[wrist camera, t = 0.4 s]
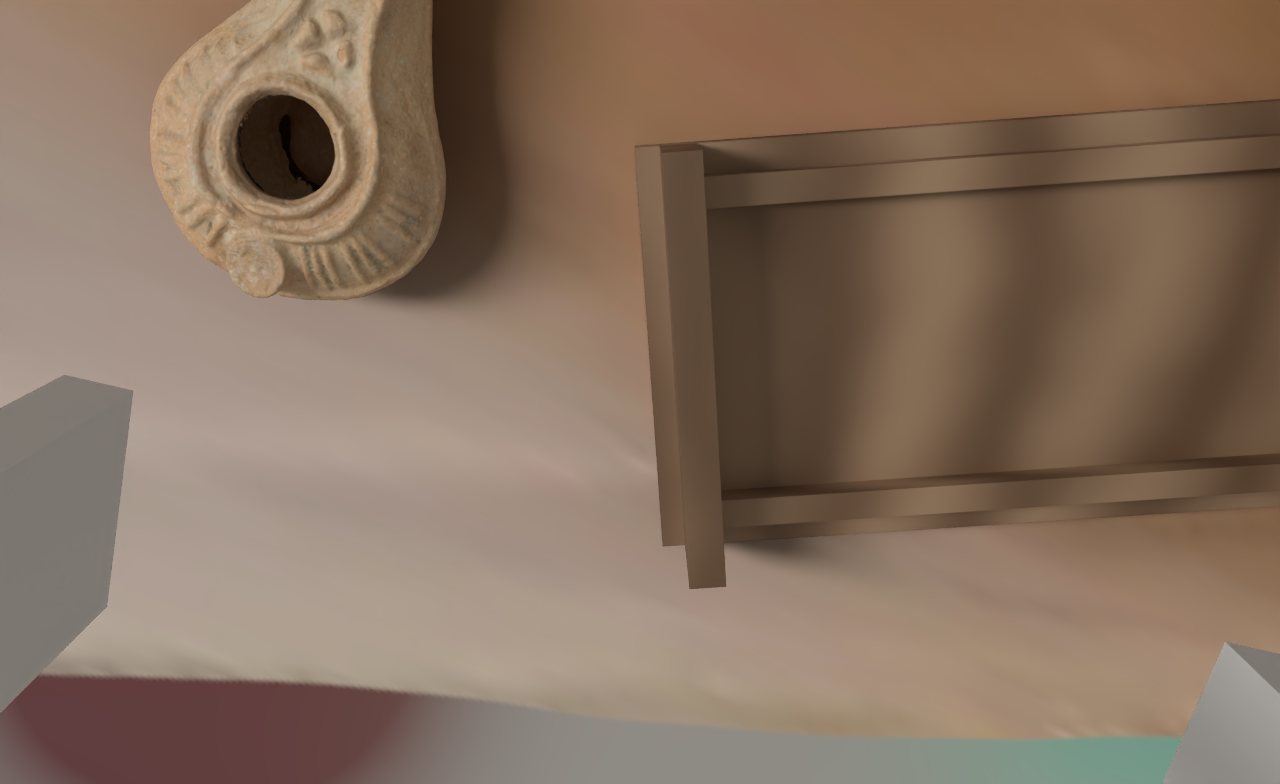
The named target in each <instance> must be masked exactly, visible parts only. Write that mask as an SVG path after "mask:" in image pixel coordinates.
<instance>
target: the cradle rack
mask: <svg viewBox="0 0 1280 784" xmlns="http://www.w3.org/2000/svg"><path fill="white" fill-rule="evenodd" d="M635 159H636V173H637V187H638V201H639V215H640V230H641V244H642V258H643V272H644V286H645V300H646V315H647V329H648V343H649V357H650V371H651V385H652V400H653V414H654V428H655V442H656V456H657V470H658V485H659V499H660V513H661V527H662V541H663V546H678V545H685V549H686V559H687V569H688V579H689V589H698V588H713V587H726V574H725V556H724V542H738V541H754V540H769V539H784V538H799V537H815V536H830V535H845V534H860V533H875V532H891V531H906V530H921V529H936V528H952V527H967V526H982V525H997V524H1012V523H1028V522H1043V521H1058V520H1073V519H1088V518H1104V517H1119V516H1134V515H1149V514H1165V513H1180V512H1195V511H1210V510H1225V509H1241V508H1256V507H1271V506H1280V99H1275V100H1261V101H1247V102H1234V103H1220V104H1206V105H1192V106H1178V107H1165V108H1151V109H1137V110H1123V111H1110V112H1096V113H1082V114H1068V115H1055V116H1041V117H1027V118H1013V119H999V120H986V121H972V122H958V123H944V124H931V125H917V126H903V127H889V128H876V129H862V130H848V131H834V132H820V133H807V134H793V135H779V136H765V137H752V138H738V139H724V140H710V141H697V142H683V143H669V144H655V145H641V146H635Z"/></svg>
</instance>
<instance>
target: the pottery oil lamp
mask: <svg viewBox="0 0 1280 784" xmlns="http://www.w3.org/2000/svg"><path fill="white" fill-rule="evenodd" d="M432 9H433V0H251V1H250V2H249V3H247V4H246V5H245V6H244V7H243V8H241V9H240V10H238V11H237V12H236V13H234V14H233V15H231V16H230V17H229V18H227V19H226V20H225V22H223V23H221V24H220V25H218V26H217V27H215V28H214V29H213V30H212V31H211V32H209V33H208V34H206V35H205V36H204V37H202V38H201V39H200V40H198V41H197V42H196V43H195V44H193V45H192V46H191V47H190V48H189V49H188V50H187V51H186V52H185V53H184V54H183V55H182V56H181V57H180V58H179V59H178V60H177V61H176V62H175V64H174V65H173V66H172V68H171V69H170V70H169V72H168V73H167V74H166V76H165V77H164V79H163V81H162V82H161V84H160V86H159V88H158V90H157V93H156V98H155V100H154V104H153V106H152V119H151V126H150V145H151V159H152V166H153V170H154V175H155V178H156V180H157V183H158V185H159V188H160V190H161V192H162V194H163V196H164V199H165V202H166V203H167V205H168V206H169V208H170V210H171V211H172V213H173V216H174V220H175V222H176V223H177V225H178V226H179V228H180V229H181V230H182V232H183V233H184V234H185V236H186V237H187V238H188V239H189V241H190V242H191V243H192V244H193V245H194V246H195V248H196V249H197V250H198V251H199V252H200V253H201V254H202V255H203V256H204V257H206V258H207V259H208V260H210V261H211V262H213V263H214V264H216V265H218V266H219V267H220V268H222V269H225V270H226V271H227V272H229V273H230V276H231V278H232V280H233V282H234V283H235V284H236V286H237V287H239V288H240V289H241V290H242V291H244V292H245V293H247V294H249V295H251V296H256V297H259V298H267V297H270V296H273V295H274V294H278V295H280V296H284V297H291V298H299V299H305V300H347V299H351V298H360V297H363V296H367V295H369V294H371V293H373V292H375V291H377V290H380V289H382V288H384V287H387V286H389V285H391V284H393V283H395V282H396V281H397V280H398V279H400V278H403V277H404V276H405V275H406V274H407V273H409V272H410V271H411V269H412V268H414V266H416V265H417V264H418V263H420V262H421V260H422V259H423V258H424V256H425V255H426V253H427V252H428V250H429V249H430V247H431V246H432V244H433V242H434V240H435V238H436V236H437V233H438V231H439V227H440V224H441V220H442V216H443V211H444V203H445V197H446V168H445V160H444V154H443V149H442V144H441V140H440V137H439V130H438V121H437V116H436V112H435V104H434V91H433V75H432V73H433V69H432V19H433V16H432V15H433V10H432ZM285 114H287V115H288V116H289V118H290V120H291V129H290V133H291V141H290V155H291V157H292V158H293V160H294V164H295V165H296V166H297V167H298V168H299V169H300V171H302V172H303V173H304V174H305V175H306V179H307V181H310V180H311V181H313V182H315V183H316V184H317V185H319V186H322V187H321V188H320V189H318V190H317V191H315V192H314V191H313V190H312V187H311V185H310V184H309V183H308V186H307V185H306V182H305V181H300V179H301V178H302V177H299V178H298V179H297V177H296V180H297V181H296V180H295V179H294V177H293V176H292V174H291V173H290V171H289V168H288V166H289V164H290V162H289V159H288V158H287V156H286V152H285V151H284V150H283V149H282V140H281V134H280V133H279V131H278V127H279V123H280V121H281V120H282V118H283V116H284V115H285ZM313 192H314V193H313Z"/></svg>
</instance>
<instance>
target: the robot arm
mask: <svg viewBox="0 0 1280 784" xmlns="http://www.w3.org/2000/svg"><path fill="white" fill-rule="evenodd" d="M132 397H133V391H132V390H128V389H123V388H119V387H115V386H110V385H106V384H102V383H97V382H93V381H89V380H84V379H80V378H76V377H71V376H67V375H63V376H62V377H60V378H58V379H56V380H54V381H52V382H50V383H48V384H46V385H44V386H42V387H40V388H38V389H37V390H35V391H33V392H31V393H29V394H27V395H25V396H23V397H21V398H19V399H17V400H15V401H13V402H11V403H10V404H8V405H6V406H4V407H2V408H0V713H1V711H3V710H4V709H5V708H6V707H7V706H8V705H9V703H10V702H12V701H13V700H14V699H15V698H16V697H17V696H18V695H19V694H20V693H21V692H22V691H23V690H24V689H25V688H26V686H28V685H29V684H30V683H31V682H32V681H33V680H34V679H35V678H36V677H37V676H38V675H39V674H40V673H41V672H42V671H43V670H44V669H45V668H46V667H47V666H48V665H49V664H50V663H51V662H52V661H53V660H54V659H55V658H56V657H57V656H58V655H59V654H60V653H61V652H62V651H63V650H64V649H65V648H66V647H67V646H68V645H69V644H70V643H71V642H72V641H73V640H74V639H75V638H76V637H77V636H78V635H79V634H80V633H81V632H82V631H83V630H84V629H85V628H86V627H87V626H88V625H89V624H90V623H91V622H92V621H93V620H94V619H95V618H96V617H97V616H98V615H99V614H100V613H101V612H102V611H103V610H104V609H105V608H106V607H107V602H108V593H109V585H110V577H111V569H112V561H113V552H114V544H115V536H116V528H117V520H118V511H119V503H120V495H121V487H122V479H123V470H124V462H125V454H126V446H127V438H128V429H129V421H130V413H131V405H132ZM1162 784H1280V654H1277V653H1272V652H1268V651H1264V650H1259V649H1255V648H1251V647H1246V646H1242V645H1238V644H1233V643H1229V642H1225V643H1224V645H1223V647H1222V650H1221V652H1220V654H1219V656H1218V659H1217V661H1216V663H1215V665H1214V668H1213V670H1212V672H1211V674H1210V677H1209V679H1208V681H1207V684H1206V686H1205V688H1204V690H1203V693H1202V695H1201V697H1200V699H1199V702H1198V704H1197V706H1196V708H1195V711H1194V713H1193V715H1192V717H1191V720H1190V722H1189V724H1188V726H1187V729H1186V731H1185V733H1184V735H1183V738H1182V740H1181V742H1180V744H1179V747H1178V749H1177V751H1176V754H1175V756H1174V758H1173V760H1172V763H1171V765H1170V767H1169V769H1168V772H1167V774H1166V776H1165V778H1164V780H1163V783H1162Z"/></svg>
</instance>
